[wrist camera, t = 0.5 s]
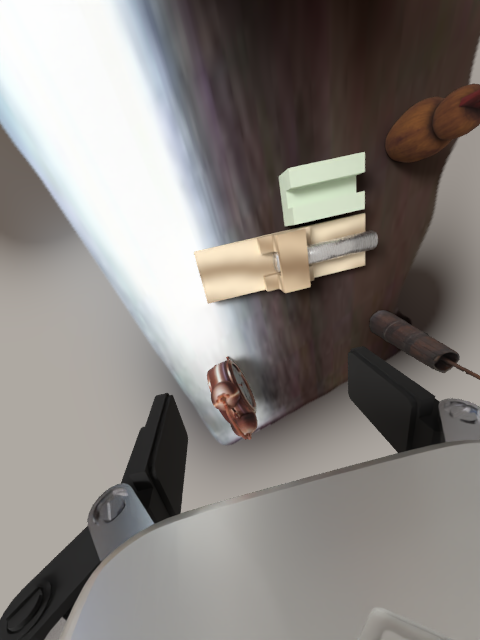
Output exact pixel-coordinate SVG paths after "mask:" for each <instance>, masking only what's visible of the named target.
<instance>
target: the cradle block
mask: <svg viewBox="0 0 480 640" xmlns="http://www.w3.org/2000/svg"><path fill="white" fill-rule="evenodd" d="M363 172H365V152H362V153H357V154H353V155H348V156H343V157H339V158H334V159H330V160H325V161H320V162H316V163H311V164H306V165H302V166H297V167H293V168H288V169H287V170H286V171H285V172H284V173H282V174H281V175H280V176H279V183H280V192H281V200H282V208H283V216H284V224H285V226H290V225H297V224H301V223H305V222H310V221H314V220H318V219H323V218H327V217H331V216H336V215H340V214H344V213H349V212H353V211H357V210H362V209H365V191H362V192H358V193H356V175H359V174H361V173H363Z"/></svg>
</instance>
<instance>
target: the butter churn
mask: <svg viewBox="0 0 480 640" xmlns="http://www.w3.org/2000/svg"><path fill="white" fill-rule="evenodd" d="M369 327H370V330H371V331H372V332H373V333H375V334H376V335H378V336H380V337H381V338H383V339H385V341H386V342H389V343H391V344H393V345H394V346H396V347H397V348H399V349H401V350H402V351H404V352H406V353H407V354H408V355H410V356H412V357H414V358H415V359H417V360H419V361H420V362H422V363H424V364H425V365H427V366H429V367H431V368H432V369H435V370H437V371H439V372H442V373H445V372H446V371H448V370H450V369H451V368H452V367H453V366H454V367H456V368H457V369H460V370H461V371H465V372H466V374H469V375H472V376H473V377H476V378H477V379H479V380H480V376H479V375H478V374H475V373H473V372H472V371H470V370H468V369H466V368H463V367H461V366H460V365H458V364H456V363H457V362H458V360H459V354H458V353H457V352H455V351H454V350H452V349H450V348H449V347H447V346H446V345H444V344H443V343H440V342H439V341H437V340H435V339H434V338H432V337H430V336H429V335H428V334H427V333H425V332H422V331H420V330H419V329H417V328H415V327H414V326H412V325H410V324H409V323H407V322H406V321H404V320H402V319H401V318H399V317H397V316H396V315H394V314H392V313H390V312H388V311H385V310H382V311H378V312H376V313H375V314H374V315H373V316H372V317H371V318H370V324H369Z"/></svg>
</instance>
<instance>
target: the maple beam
mask: <svg viewBox="0 0 480 640" xmlns="http://www.w3.org/2000/svg"><path fill="white" fill-rule="evenodd" d="M361 232H365V213H362V214H356V215H351V216H347V217H343V218H338V219H334V220H330V221H325V222H321V223H317V224H312V225H308V226H304V227H299V228H295V229H291V230H286V231H282V232H277V233H273V234H269V235H264V236H260V237H256V238H251V239H247V240H243V241H238V242H234V243H230V244H225V245H221V246H217V247H212V248H208V249H204V250H199V251H195V252H194V255H195V258H196V262H197V265H198V269H199V273H200V276H201V280H202V283H203V287H204V291H205V294H206V298H207V301H208V303H212V302H216V301H221V300H225V299H229V298H233V297H237V296H241V295H245V294H249V293H254V292H258V291H262V290H266V291H272V290H276V289H280V290H282V291H283V292H285V293H289V292H293V291H297V290H301V289H305V288H309V287H311V284H310V281H313V280H314V278H315V277H319V276H323V275H328V274H332V273H336V272H340V271H344V270H348V269H352V268H356V267H360V266H365V251H364V252H360V253H356V254H352V255H348V256H343V257H339V258H335V259H331V260H327V261H322V262H318V263H314V264H310V265H309V262H308V251H307V245H310V244H315V243H319V242H323V241H327V240H332V239H336V238H340V237H344V236H349V235H353V234H357V233H361ZM276 252H278V256H279V263H280V270H281V272H276V270H275V268H274V264H273V253H276Z"/></svg>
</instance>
